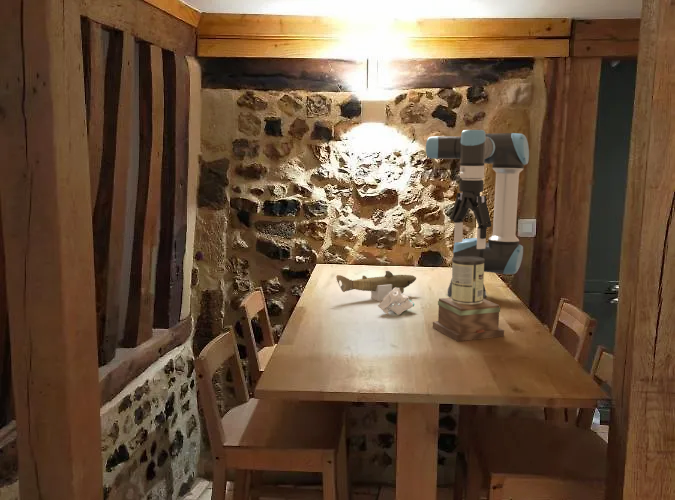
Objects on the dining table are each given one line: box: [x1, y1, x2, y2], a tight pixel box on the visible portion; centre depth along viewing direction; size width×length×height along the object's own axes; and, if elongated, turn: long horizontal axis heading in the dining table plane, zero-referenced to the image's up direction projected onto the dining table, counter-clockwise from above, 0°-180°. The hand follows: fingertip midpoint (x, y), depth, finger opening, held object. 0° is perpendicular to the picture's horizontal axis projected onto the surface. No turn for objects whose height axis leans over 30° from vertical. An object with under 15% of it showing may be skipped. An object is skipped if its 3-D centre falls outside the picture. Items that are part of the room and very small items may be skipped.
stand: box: [432, 297, 505, 342], centre depth 204 cm, size 17×16×10 cm
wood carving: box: [335, 270, 417, 302], centre depth 247 cm, size 9×35×11 cm, turn 114°
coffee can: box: [450, 256, 485, 305], centre depth 203 cm, size 10×10×14 cm
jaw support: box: [377, 287, 415, 316], centre depth 228 cm, size 12×9×10 cm
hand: (469, 245), depth 202 cm, fingers open, 13 cm apart
